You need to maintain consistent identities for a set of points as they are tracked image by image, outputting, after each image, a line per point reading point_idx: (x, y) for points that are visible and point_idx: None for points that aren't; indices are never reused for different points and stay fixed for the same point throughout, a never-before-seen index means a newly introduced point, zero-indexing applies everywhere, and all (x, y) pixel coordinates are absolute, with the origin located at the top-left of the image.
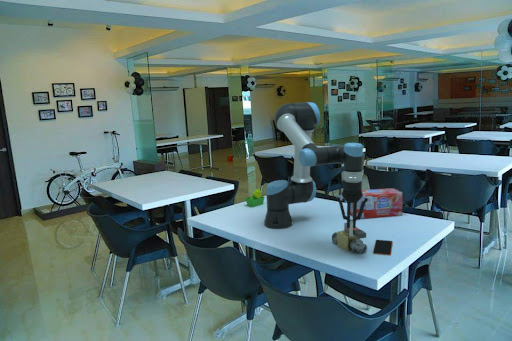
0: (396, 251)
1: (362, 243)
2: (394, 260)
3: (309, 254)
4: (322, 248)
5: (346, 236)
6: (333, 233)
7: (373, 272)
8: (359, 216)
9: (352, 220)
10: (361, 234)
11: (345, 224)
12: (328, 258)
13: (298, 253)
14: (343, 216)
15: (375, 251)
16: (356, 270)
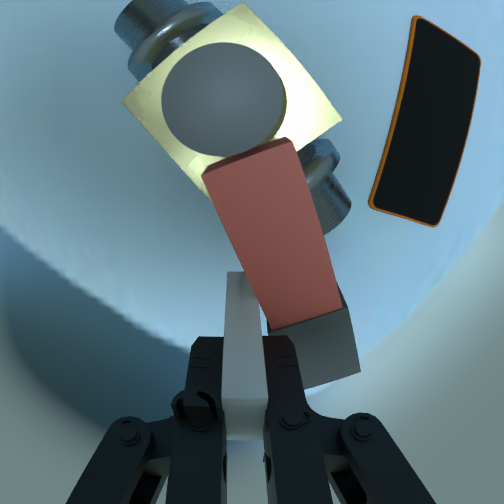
0: (470, 179)
1: (329, 221)
2: (427, 276)
3: (48, 236)
4: (83, 147)
5: (206, 194)
6: (119, 15)
7: None
8: (350, 484)
9: (259, 422)
10: (320, 379)
11: (176, 129)
12: (131, 275)
13: (13, 229)
14: (138, 481)
15: (387, 184)
16: None
